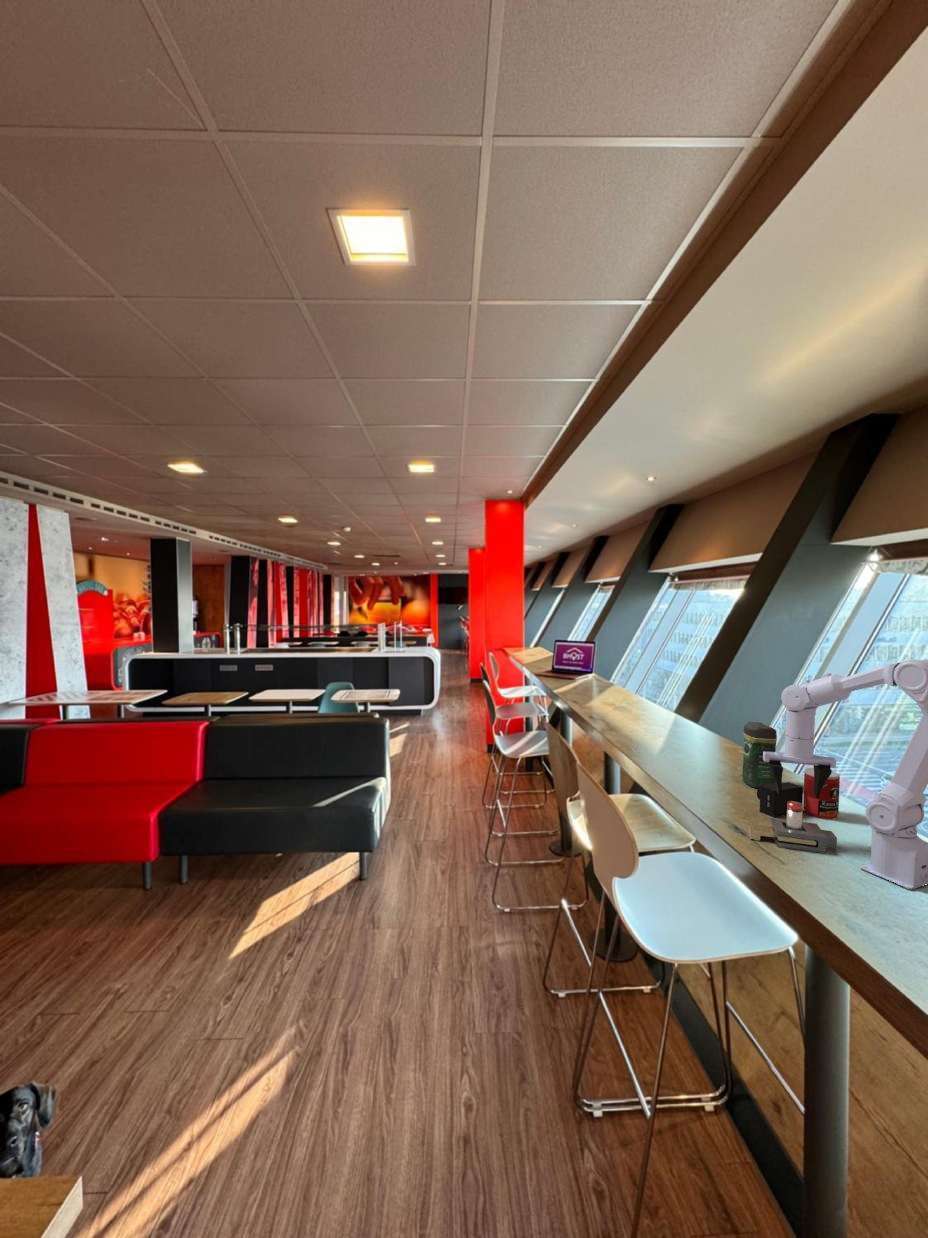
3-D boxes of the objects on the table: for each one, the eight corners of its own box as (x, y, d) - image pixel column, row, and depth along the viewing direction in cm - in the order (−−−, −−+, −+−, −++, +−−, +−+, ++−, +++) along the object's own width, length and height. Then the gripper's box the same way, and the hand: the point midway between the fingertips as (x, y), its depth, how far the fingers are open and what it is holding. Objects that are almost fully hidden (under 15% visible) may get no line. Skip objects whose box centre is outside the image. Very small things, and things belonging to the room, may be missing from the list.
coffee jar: (779, 790, 164) (781, 727, 164) (751, 789, 165) (753, 726, 164) (765, 780, 174) (767, 720, 173) (738, 779, 175) (740, 719, 174)
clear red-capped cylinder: (804, 844, 127) (805, 805, 127) (794, 846, 126) (796, 806, 126) (791, 839, 130) (793, 800, 130) (782, 841, 129) (784, 801, 129)
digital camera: (783, 805, 152) (784, 780, 152) (802, 813, 147) (803, 786, 147) (755, 810, 148) (756, 784, 148) (773, 818, 143) (774, 790, 143)
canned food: (822, 821, 141) (823, 777, 141) (795, 809, 149) (797, 768, 149) (846, 818, 143) (847, 775, 143) (818, 807, 151) (820, 766, 151)
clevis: (828, 840, 130) (829, 825, 129) (839, 855, 122) (839, 839, 122) (746, 830, 135) (747, 815, 135) (751, 843, 127) (752, 827, 127)
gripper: (830, 735, 132) (828, 793, 132) (761, 730, 136) (759, 785, 137) (840, 742, 125) (837, 803, 126) (767, 737, 130) (765, 795, 130)
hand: (797, 794), depth 131 cm, fingers open, 7 cm apart
